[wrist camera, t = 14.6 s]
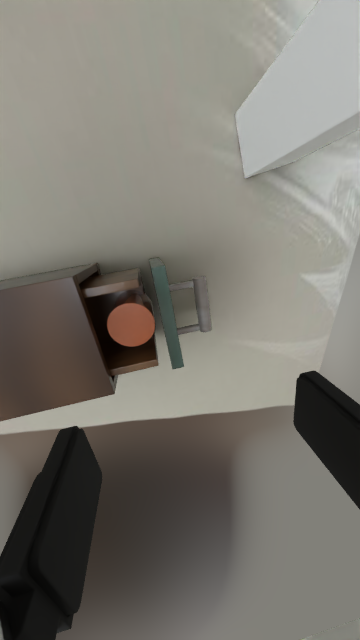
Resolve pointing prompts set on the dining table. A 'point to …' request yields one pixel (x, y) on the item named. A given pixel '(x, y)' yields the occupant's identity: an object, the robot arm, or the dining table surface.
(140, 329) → the tumbler
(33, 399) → the cabinet
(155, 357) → the drawer
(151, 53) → the dining table surface
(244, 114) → the milk
